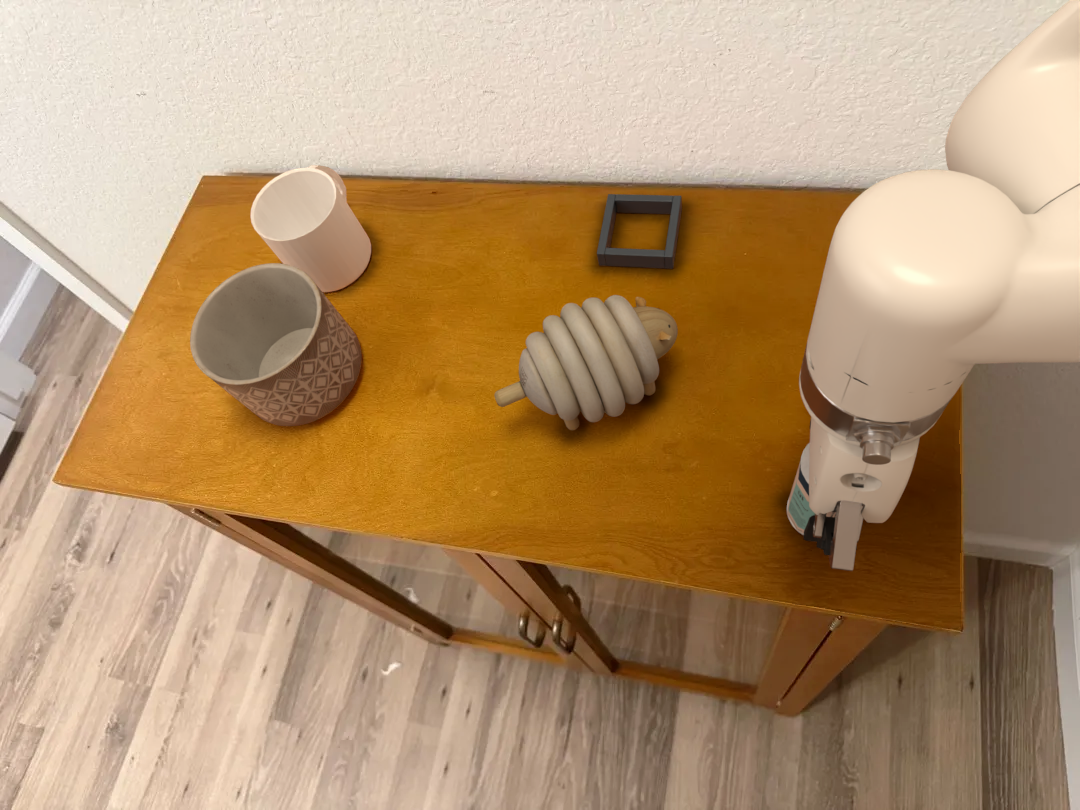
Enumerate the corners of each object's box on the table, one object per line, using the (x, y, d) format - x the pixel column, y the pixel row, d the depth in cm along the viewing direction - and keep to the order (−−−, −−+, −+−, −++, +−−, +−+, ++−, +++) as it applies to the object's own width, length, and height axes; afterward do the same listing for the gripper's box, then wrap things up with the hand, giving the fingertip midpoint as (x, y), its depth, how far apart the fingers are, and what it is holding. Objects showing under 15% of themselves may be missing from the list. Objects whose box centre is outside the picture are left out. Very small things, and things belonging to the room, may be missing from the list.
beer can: (857, 501, 63) (888, 446, 52) (833, 552, 61) (859, 505, 51) (801, 475, 64) (819, 416, 54) (776, 523, 63) (790, 473, 52)
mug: (349, 302, 81) (308, 249, 73) (280, 284, 84) (234, 230, 76) (398, 213, 85) (365, 153, 77) (331, 198, 88) (292, 139, 80)
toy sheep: (706, 392, 69) (705, 329, 59) (540, 482, 69) (512, 434, 59) (647, 308, 74) (637, 237, 64) (492, 392, 73) (458, 333, 64)
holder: (682, 208, 78) (681, 195, 76) (673, 269, 75) (672, 257, 74) (610, 206, 80) (608, 193, 78) (598, 265, 77) (596, 253, 75)
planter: (285, 309, 83) (233, 251, 73) (386, 335, 79) (344, 277, 69) (228, 413, 78) (164, 365, 69) (332, 445, 74) (279, 399, 65)
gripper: (958, 542, 36) (882, 611, 52) (950, 240, 43) (885, 381, 59) (792, 521, 38) (767, 593, 54) (810, 235, 45) (783, 373, 61)
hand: (829, 482), depth 56 cm, fingers open, 7 cm apart
